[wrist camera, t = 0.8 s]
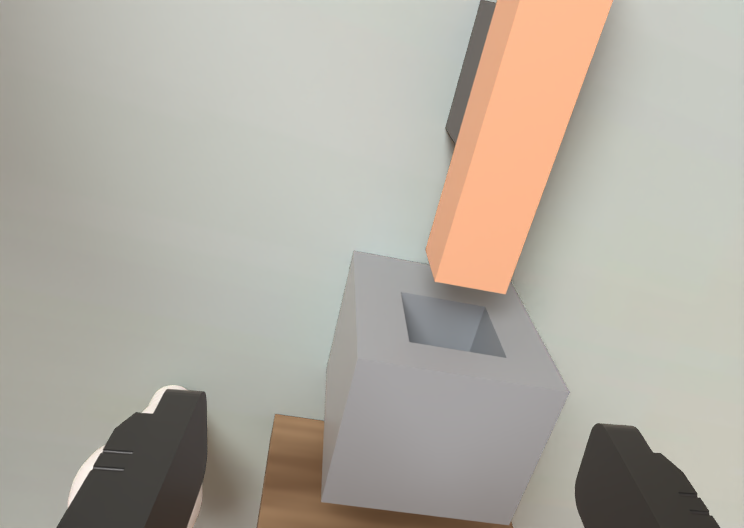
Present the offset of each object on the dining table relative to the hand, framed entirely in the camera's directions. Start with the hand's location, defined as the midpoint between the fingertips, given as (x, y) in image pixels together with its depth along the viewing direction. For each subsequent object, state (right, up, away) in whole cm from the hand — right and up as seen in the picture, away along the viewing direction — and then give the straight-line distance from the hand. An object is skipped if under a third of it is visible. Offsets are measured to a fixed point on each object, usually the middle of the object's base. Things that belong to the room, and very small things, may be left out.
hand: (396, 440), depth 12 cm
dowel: (+5, +11, +13) cm, 18 cm away
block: (+2, 0, +22) cm, 22 cm away
